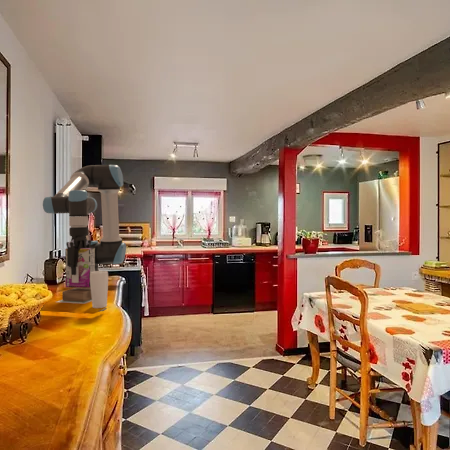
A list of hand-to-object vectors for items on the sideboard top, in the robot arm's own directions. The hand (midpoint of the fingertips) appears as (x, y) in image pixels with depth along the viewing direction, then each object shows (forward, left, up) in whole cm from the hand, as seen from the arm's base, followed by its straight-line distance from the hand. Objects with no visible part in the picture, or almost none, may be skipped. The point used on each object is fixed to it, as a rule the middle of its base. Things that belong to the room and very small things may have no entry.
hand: (80, 281), depth 164 cm
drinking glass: (+10, +16, -9) cm, 21 cm away
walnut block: (0, 0, -8) cm, 8 cm away
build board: (0, 0, -9) cm, 9 cm away
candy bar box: (0, 0, -3) cm, 3 cm away
